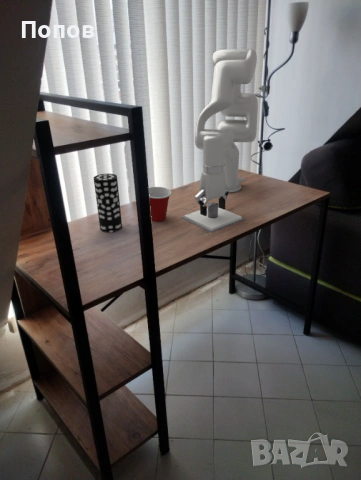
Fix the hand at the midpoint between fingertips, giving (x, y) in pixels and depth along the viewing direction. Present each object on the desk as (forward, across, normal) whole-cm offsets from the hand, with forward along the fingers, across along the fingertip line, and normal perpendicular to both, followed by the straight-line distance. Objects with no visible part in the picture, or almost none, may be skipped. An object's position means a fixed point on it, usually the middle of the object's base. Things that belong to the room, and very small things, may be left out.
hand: (212, 211), depth 150 cm
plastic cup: (+4, +16, -14) cm, 22 cm away
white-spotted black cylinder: (+4, +34, -20) cm, 40 cm away
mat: (+3, 0, 0) cm, 3 cm away
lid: (+3, 0, 0) cm, 3 cm away
